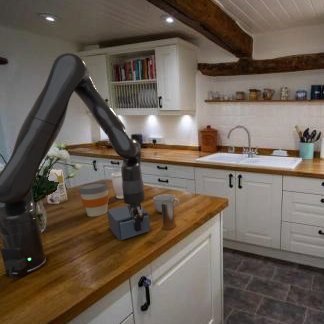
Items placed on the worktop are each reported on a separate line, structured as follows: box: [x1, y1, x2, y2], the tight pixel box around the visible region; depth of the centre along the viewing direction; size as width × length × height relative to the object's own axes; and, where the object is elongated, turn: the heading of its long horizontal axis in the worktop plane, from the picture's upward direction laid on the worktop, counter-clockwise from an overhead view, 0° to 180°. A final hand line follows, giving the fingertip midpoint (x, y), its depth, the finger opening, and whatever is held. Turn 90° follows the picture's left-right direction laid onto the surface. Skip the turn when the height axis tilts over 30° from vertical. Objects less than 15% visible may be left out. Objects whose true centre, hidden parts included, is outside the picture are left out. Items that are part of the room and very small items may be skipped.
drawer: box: [119, 214, 151, 241], centre depth 106 cm, size 15×11×7 cm
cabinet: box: [107, 204, 149, 241], centre depth 109 cm, size 15×13×9 cm
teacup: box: [152, 193, 180, 214], centre depth 128 cm, size 14×11×8 cm
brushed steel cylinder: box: [161, 200, 176, 230], centre depth 110 cm, size 5×5×12 cm
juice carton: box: [46, 168, 68, 205], centre depth 142 cm, size 8×9×19 cm
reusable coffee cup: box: [78, 181, 110, 217], centre depth 126 cm, size 13×13×15 cm
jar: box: [110, 171, 124, 200], centre depth 151 cm, size 11×10×15 cm
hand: (138, 230), depth 100 cm, fingers closed
